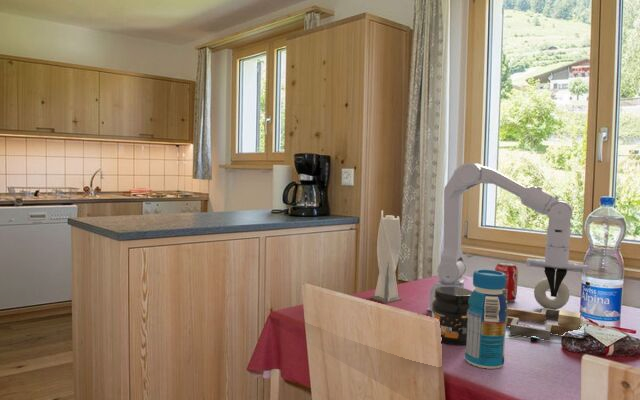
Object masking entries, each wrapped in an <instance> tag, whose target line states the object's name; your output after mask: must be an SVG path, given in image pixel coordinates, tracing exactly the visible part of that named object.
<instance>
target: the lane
mask: <svg viewBox="0 0 640 400" xmlns="http://www.w3.org/2000/svg"><path fill="white" fill-rule="evenodd" d="M560 310H561V309H556V310H555V309H549V308H544V307H542V310H541V312H537V311H532V310H525V309H518V308H512V307H508V308H507V309H506V313H507V315H508V321H507V323H506V327H507V326H510V327H509V335H512V334H516V335H515V336H517V335H521V336H520V337H523V336H526V337H525V338H528V337H531V336H536V337H539V338H541V339H544V340H543V341H545V340H551V337H552V334H558V335H563V334H564V333H565V332H568V331H573V330H578V329H580V328H581V327H582V326H584V325H585V326H586V321H585V322H584V321H583V320H582V319H581V318H580V328H575V327H569V326H563V325H558V323H557V324H556V323H551V322H547V323H546V320H547V319H552V320H557V321H558V317H559V311H560ZM519 320H523V321H528V322H534V323H541V324H546V326H545V328H539V327H534V326H528V325H521V324H519V322H520V321H519ZM551 333H552V334H551ZM558 335H557V336H558Z"/></svg>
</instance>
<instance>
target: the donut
mask: <svg viewBox="0 0 640 400" xmlns="http://www.w3.org/2000/svg"><path fill="white" fill-rule="evenodd" d="M555 281H556V277H555V280H554V289H555ZM549 289H550V286H549V282H548V279H547V277H545V278H542V279H540V280H539V281H538V282H537V283H536V285H535V286H534V289H533V290H534V291H533V295H534V298H535V300H536V301H535V302H537V303H538V304H539V305H540V306H541V307H542V308H549V309H555V310H560V309H562V308H563V307H565V306H566V305H567V303H568V302H569V299H570V289H569V287H568V285H567V284H566V283H565V282H564V280H563V281H562V282H561V284H560V287H559V289H558V292H557V297H553V298H550V297H548V296H547V294H546V293H547V291H548V290H549Z"/></svg>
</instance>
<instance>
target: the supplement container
mask: <svg viewBox="0 0 640 400" xmlns="http://www.w3.org/2000/svg"><path fill="white" fill-rule="evenodd" d="M473 291H474V290H471V289H467V288H460V287H438V288H436V289H435V295H434V297H435V299H434V300H433V302H432V311H431V318H432V317H434V318H437V319H439V321H440V328H441V337H442V342H441V343H444V344H449V345H456V346H457V345H466V342H467V322H468V318H467V310H468V309H469V303H468V300H469V297H470V295H471V293H472V292H473Z"/></svg>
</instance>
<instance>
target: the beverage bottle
mask: <svg viewBox="0 0 640 400" xmlns="http://www.w3.org/2000/svg"><path fill="white" fill-rule="evenodd" d="M472 274H473V275H472V286H473V287H474V290H472V291H473V292H472V293H471V295H470V297H469V300H468V303H469V309H468V310H467V318H468V322H467V342H466V344H465V345H466V346H465V351H464V352H465V353H464V357H465V358H464V360H465V361H466V362H467V363H468V364H470V365H471V364H472V366H474V367H476V366H477V367H476V368H479V369H485V368H486V369H487V370H496V369H500V368H502V367H503V366H504V364H505V347H506V346H505V345H506V344H505V343H506V332H507V330H506V329H507V326H506V323H507V321H508V315H507V313H506V309H507V308H509V307H508V306H509V305H508V303H509V302H507V300H506V297H505V295H504V294H503V292H502V290H504V289H505V286H506V274H504V273H502V272H499V271H495V270H494V269H476V270H474V271H473V273H472Z"/></svg>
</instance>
